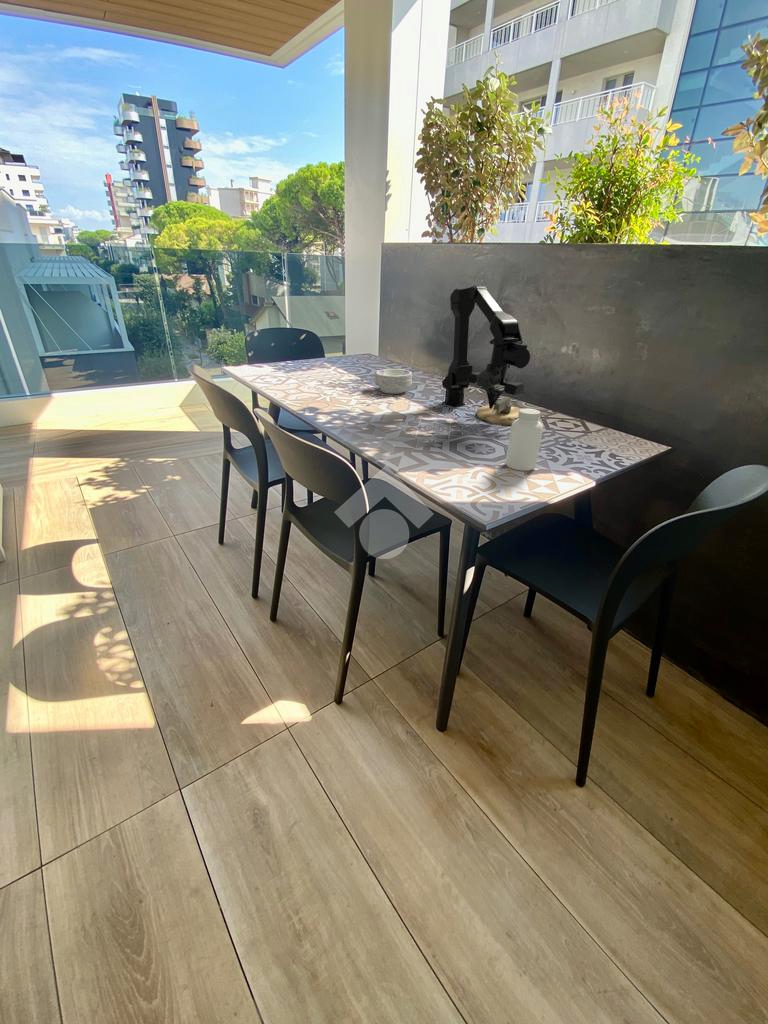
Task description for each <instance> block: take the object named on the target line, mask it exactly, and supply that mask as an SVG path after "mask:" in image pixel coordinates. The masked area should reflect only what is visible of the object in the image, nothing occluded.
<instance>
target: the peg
mask: <svg viewBox="0 0 768 1024" xmlns="http://www.w3.org/2000/svg"><path fill="white" fill-rule="evenodd" d="M510 401H511V397H509V396H504V397H502V398H501V399H499V400H497V401H496V403H494V409H493V411H492V412H491V414H494V413H499V412H500V413H510V412H511V406H512V404H511V403H510ZM512 407H513V406H512Z"/></svg>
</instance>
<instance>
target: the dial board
mask: <svg viewBox="0 0 768 1024" xmlns="http://www.w3.org/2000/svg"><path fill="white" fill-rule="evenodd" d="M493 409H494V406H493V408H492V409H490V408H489V404H488V405H484V406H481V407H478V408H477V410H476V417H478V418H479V419H480V420H482V421H484V422H488V423H490V424H495V425H500V426H501V425H503V426H511V425H512V423H513V422H514V421H515V420H517V419H518V413H519V410H520V409H522V408H520V407H517V406H511V412H510V413H500V412H499V413H494V414H491V412H492V411H493Z"/></svg>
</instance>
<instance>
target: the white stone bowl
mask: <svg viewBox="0 0 768 1024" xmlns="http://www.w3.org/2000/svg"><path fill="white" fill-rule="evenodd" d="M374 383H375V385H376V386H378V387H379V390H380V391H381V392H382V393H385V394H391V395H393V394H394V395H395V394H396V395H397V394H403V393H405V392H406V391H407V389H408V387H410V386H412V383H413V372H412V371H410V370H408V369H402V368H383V369H380V370H376V371H375V373H374Z"/></svg>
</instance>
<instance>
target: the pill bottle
mask: <svg viewBox="0 0 768 1024" xmlns="http://www.w3.org/2000/svg"><path fill="white" fill-rule="evenodd" d="M540 418H541V411H540V410H538V409H534V408H521V409H520V410H519V413H518V419H517V420H515V421H514V422H513V423H512V425H510V432H509V438H508V445H507V451H506V456H505V464H506V466H507V467H508V468H510V469H512V470H515V471H524V472H525V471H526V472H528V471H529V472H530V471H533V470H534V469H535V468H536V465H537V463H538V462H537V461H538V457H539V451H540V447H541V442H542V437H543V431H544V425H543V424H542V422H541V421H540Z"/></svg>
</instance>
